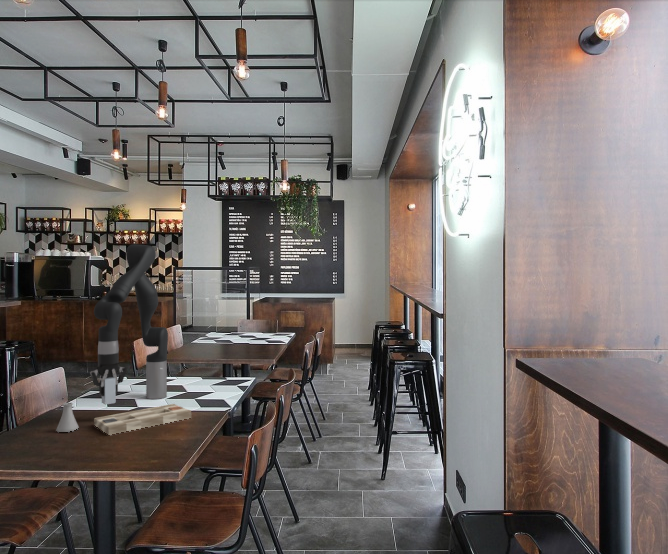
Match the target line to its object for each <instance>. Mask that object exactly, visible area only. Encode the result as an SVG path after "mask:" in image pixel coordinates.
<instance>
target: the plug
mask: <svg viewBox="0 0 668 554" xmlns="http://www.w3.org/2000/svg"><path fill="white" fill-rule="evenodd" d="M116 395H117V392H116V378H113V377H108V378H106V379H105V381H104V396H101V404H103V405H110V404H111V405H112V404H115V403H116V400H117V399H116Z"/></svg>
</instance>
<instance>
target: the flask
mask: <svg viewBox="0 0 668 554" xmlns="http://www.w3.org/2000/svg"><path fill="white" fill-rule="evenodd" d="M73 404H74V403H72V402H66V403H62V404H61V405H62V408H63V410H62V414H61V417H60V420H59V422H58V424H57V427H56V429H55V432H56V431H57V433H59V432H68V433H71V432H70V431H72V432H75V431H74V430H76V429H77V430H79V429H80V426H79V424H78V422H77V420H76V418H75V415H74V412H73ZM78 428H79V429H78ZM77 430H76V431H77Z"/></svg>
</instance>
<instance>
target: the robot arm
mask: <svg viewBox="0 0 668 554" xmlns="http://www.w3.org/2000/svg"><path fill="white" fill-rule="evenodd" d="M156 255H157V254H156V250H155V248H154V247H153V246H151V245H148V244H146V245H145V244H132V243H131V244H130V245H128V247H127V248H126V254H125V256H126V262H127V265H128V267H129V268H128V269H129V270H128V271H127V272H125V273H124V274H122V275H121V276H119V277H118V278H117V280H116V281H114V284H113V285H112V287H110V290H109V291H108V292H107V293H106V294H105V295H104V296H103V297H102V298H101V299H99V300H98V301H97V303H95V306H94V309H93V315H94V317H95V318H96V319H98V320H102V321H103V320H104V321H105V320H106V321H107V323H106V325H102V326H100V327H98V345H97V368H96V369H95V370H91V371H89V374H90V377H91V380H92V383H93V385H94V386H96V387H99V389H98V391H99V392H98V393H99V395H100V396H101V397H102V396H104V381H105V379H106V378H108V377H113V378H116V393H118V391H119V384H120V383H122V382H124V379H125V375H126V372H127V367H124V366H120V364H119V363H120V362H119V359H120V358H119V353H120V352H119V351H120V349H119V327H120V324H121V320H122V316H123V308H122V306H121V304H122V303H124V302H125V301H126V300H127V298H128V296H129V295H130V293H131V291H132V290H133V288H134V292H135V298H136V299H135V300H136V305H137V308H138V312H139V313H138V314H139V319H140V328H141V338H142V342H143V345H144V346H145V347H150V348H153V347H154V348H157V347H158V348H157V350H156V351H154V352H152V353H149V354H147V355H146V357H145V359H146V362H145V364H146V365H145V371H146V373H145V375H146V376H145V381H146V383H145V388H146V389H145V397H146V399H149V400H157V399H164V398H166V397H167V395H168V391H167V390H168V388H167V386H168V378H167V377H168V375H167V374H168V370H167V369H168V368H167V366H168V363H167V361H168V360H167V359H168V343H169V342H168V341H169V332H168V329H167V328H166V327H164V326H161V327H159V326H155V327H154V326H152V325H151V320H152V317H153V315H154V314H155V311H156V310H157V308H158V305H159V296H158V290H157V289H156V286H155V284H153V282H152V281H151V279H149V277H148V275H146V272H147V271H148V270H149V269H150V268H151V266H152V265H153V263H154V262H155V260H156ZM118 372H119V375H118V376H117V374H118ZM98 374H99V375H100V376H99V380H98V377H97V376H98Z"/></svg>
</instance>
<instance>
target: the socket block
mask: <svg viewBox="0 0 668 554" xmlns="http://www.w3.org/2000/svg"><path fill="white" fill-rule="evenodd" d="M189 418H191V419H192V411H191V410H190V409H187V408H185V407H183V406H179V405H178V404H175V403H171V404H165V405H160V406H153V407H148V408H143V409H142V408H141V409H138V410H133V411H132V410H131V411H127V412H122V413H121V412H120V413H116V414H115V413H114V414H111V415H105V416H99V417H95V418H93V421H94V422H93V426H94V425H95V426H96V427H98V428H99V429H101V430H102V431H103V432H102V431H101V430H100V431H101V432H102V433H104V432H105V433H107V434H108V435H110V436H113V435H112V434H115V435H117V434H116V433H119V434H122V433H121V432H124V433H127V432H126V431H129V432H132V431H131V430H134V431H137V430H136V429H139V430H142V429H141V428H144V429H146V428H145V427H148V428H152V427H151V426H153V427H156V426H155V425H158V426H161V425H160V424H163V425H166V424H165V423H168V424H171V423H170V422H172V423H175V422H174V421H177V422H180V421H179V420H182V421H185V420H184V419H187V420H190V419H189ZM95 426H94V427H95ZM96 427H95V428H96ZM98 428H97V429H98ZM99 429H98V430H99ZM105 433H104V434H105ZM107 434H106V435H107ZM108 435H107V436H108Z"/></svg>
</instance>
